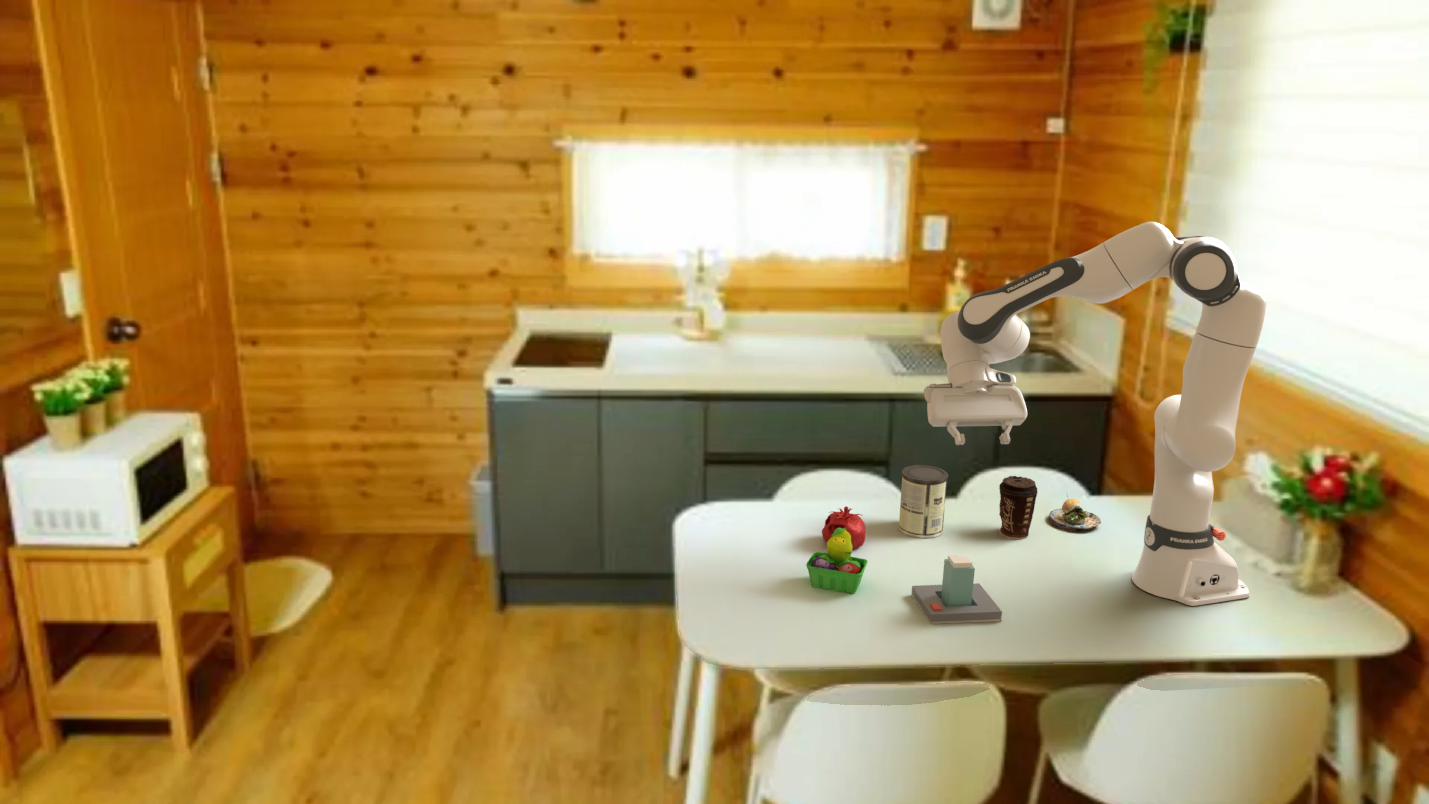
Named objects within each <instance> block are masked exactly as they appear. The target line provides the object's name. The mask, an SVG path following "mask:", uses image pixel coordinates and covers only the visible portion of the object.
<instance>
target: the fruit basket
mask: <svg viewBox="0 0 1429 804" xmlns="http://www.w3.org/2000/svg"><path fill="white" fill-rule="evenodd" d="M826 549H827V552H821V551H816V552H815V551H814V552H813V554H812V555H811V557H810V558H809V559H808V560H807V562H806V564H805V566H806V569H807V571H808V575H809V579H810V583H811V585H810V586H811V587H812V588H818V589H824V590H832V591H835V592H839V593H840V592H841V593H848V594H853V595H854V594H856V592H857V590H858V588H859V586H860V584H861V581H862V578H863V576H864V572H865V569H866V567H867V566H868V560H867V559H866V558H860V557H855V556H852V554H853V550H852V543H851V535H850V534H849V533H848V532H847V531H846V528H837V529H836V530H835V531H834V533H833V534H832V537H831V538H830V539H829V540H828V542H827V543H826Z"/></svg>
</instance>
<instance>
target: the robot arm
mask: <svg viewBox="0 0 1429 804" xmlns="http://www.w3.org/2000/svg"><path fill="white" fill-rule="evenodd" d="M1159 278H1168V279H1171V280H1172V281H1173V282H1174V284H1175V285H1176V287H1178V288H1179V290H1181V291H1182V292H1183V293H1185V294H1186V295H1188V296H1189V297H1191V298H1193V299H1195V300H1197V301H1198V302H1200V303H1201V305H1202V307H1201V308H1202V309H1201V315H1200V319H1199V321H1198V324H1197V326H1196V328H1195V333H1194V335H1193V338H1192V341H1191V344H1190V347H1189V350H1188V351H1187V352H1188V353H1187V356H1186V358H1185V361H1184V364H1183V366H1182V367H1183V368H1182V386H1181V394H1174V395H1171V396H1168V397H1166V398H1164V399H1163V400H1162V401H1160V403H1159V404H1158V406H1157V407H1156V409H1155V412H1154V415H1153V416H1154V428H1155V429H1154V430H1155V431H1154V483H1153V490H1152V491H1153V492H1152V499H1151V504H1150V505H1151V506H1150V511H1149V514H1148V515H1147V517H1146V522H1145V528H1144V536H1143V548H1142V551H1141V554H1140V558H1139V560H1138V563H1137V566H1136V567H1135V570H1134V571H1133V573H1132V575H1131V581H1132V583H1134V585H1135V586H1136V587H1138V588H1139V589H1140V590H1142V591H1145V592H1147V593H1148V594H1151V595H1154V596H1156V597H1160V598H1163V599H1168V600H1173V601H1177V602H1179V603H1181V604H1184V605H1187V606H1192V607H1195V606H1203V605H1208V604H1209V605H1210V604H1215V603H1221V602H1222V603H1223V602H1228V601H1229V602H1230V601H1234V600H1241V599H1247V598H1249V597H1250V590H1249V589H1250V588H1249V587H1248V586H1247V585H1246V584H1245V582H1244V581H1242V580H1241V579H1240V577H1239V576H1240V574H1239V573H1240V572H1239V567H1238V564H1237V562H1236V560H1235V559H1234V558H1233V557H1232V556H1231V555H1230V554H1229V553H1227V552H1226V551H1225V550H1224V549H1223V548H1222V547H1221V546H1220V545H1218V544H1217V543H1216V542H1215V541H1214V538H1215V539H1216V540H1218V541H1219V542H1220V541H1221V542H1222V541H1224V540H1225V539H1226V538H1227V533H1226V532H1225V531H1223V530H1222V529H1220V528H1215V526H1213V525H1212V524H1211V523H1210V518H1211V512H1212V505H1213V500H1214V494H1215V486H1214V482H1213V472H1217V471H1219V470H1221V469H1223V468H1225V467H1226V466H1227V465H1229V464H1230V463H1231V461H1232V460H1233V458H1234V457H1235V454H1236V451H1237V450H1236V449H1237V443H1236V430H1237V429H1236V428H1237V425H1238V424H1237V423H1238V417H1239V411H1240V403H1241V398H1242V397H1241V396H1242V392H1243V387H1244V382H1245V380H1246V376H1247V374H1248V372H1249V368H1250V366H1251V363H1252V360H1253V357H1254V354H1255V352H1256V349H1257V346H1258V343H1259V341H1260V337H1261V333H1262V329H1263V325H1264V321H1265V317H1266V310H1267V298H1266V295H1265V294H1264V292H1263V291H1262V290H1260V288H1258V287H1256V286H1255V285H1253V284H1251V283H1249V282H1244V281H1241V280H1240V279H1241V278H1240V275H1239V270H1238V265H1237V262H1236V259H1235V257H1234V255H1233V253H1232V251H1231V250H1230V248H1229V247H1228V246H1227V245H1226V244H1225V243H1224V242H1223V241H1221V240H1219V239H1217V238H1214V237H1210V236H1205V235H1196V236H1195V235H1194V236H1183V237H1182V236H1180V237H1179V236H1178V237H1177V236H1176V237H1174V235H1173V234H1172V232H1171V231H1170V230H1169V228H1167V227H1165V225H1163V224H1161V223H1159V222H1157V221H1146V222H1142V223H1140V224H1139V225H1135V226H1133V227H1131V228H1128V229H1126V230H1124V231H1122V232H1120V233H1118V234H1115V236H1112V237H1110V238H1108V239H1107V240H1105V241H1103V242H1102V243H1099V244H1098V245H1097V246H1095V247H1093V248H1091V249H1089V250H1087V251H1084V252H1082V253H1080V254H1077V255H1075V256H1069V257H1065V258H1061V259H1057V260H1056V261H1055V260H1054V261H1052V262H1051V263H1048V264H1046V265H1044V266H1041V267H1040V268H1037V269H1035V270H1033V271H1031V272H1029V273H1027V274H1025V275H1023V276H1021V277H1019V278H1017V279H1014V280H1013V281H1011V282H1008V283H1007V284H1004V285H1002V286H1000V287H997V288H994V289H991V290H985V291H982V292H977V293H976V294H973V295H971V296H970V297H969V298H968V299H967V300H966V301H965V302H964V303H963V305H962V306H961V307H960V309H959V310H958V311H955V312H952V313H950V314H949V315H947V316H946V317H945V319H944V320H943V322H942V324H941V327H940V345H941V346H940V347H941V352H942V357H943V358H942V359H943V360H944V362H945V364H946V376H947V382H948V383H930V384H929V385H927V386H925V388H924V389H923V396H924V399H925V401H926V402H927V404H926V405H927V406H926V409H927V411H926V413H927V420H928V423H929V424H930V425H931V426H932V427H934V428H935V427H936V428H937V427H939V428H940V427H946V428H947V429H946V430H947V432H948V433H949V434H950V435H951V437H952V438H954V443H955V445H956V446H960V445H961V446H964V444H965V443H966V438H965V433H960V431H959V430H958V428H957V427H992V426H993V427H995V426H998V427H1001V428H1002V430H1004V432H1002V433H1001V435H999V437H998V438H999V441H1000V442H999V443H1000V444H1001V445H1009V444H1010V443H1011V437H1010V432H1011V430H1012V429H1013V426H1021V425H1022V424H1023V423H1024V422H1025V421H1026V420H1027V417H1028V409H1027V405H1026V401H1025V398H1024V396H1023V394H1022V392H1021V389H1019V388H1018V387H1017V386H1015V385H1016V383H1017V378H1016V376H1015V375H1014V374H1012V373H1009V372H1004V371H1000V370H998V369H995V368H991V367H990V365H997V364H1002V363H1006V362H1010V361H1012V360H1016V359H1018V357H1021V355H1023V354H1024V352H1025V351H1026V350H1027V348H1028V346H1029V344H1030V341H1031V331H1030V328H1029V327H1028V325H1027V324H1026V323H1025V322H1024V321H1023V320H1022V319H1021V318H1020V317H1019V316H1018V314H1020V313H1022V312H1024V311H1026V310H1028V309H1030V308H1032V307H1035V306H1036V305H1038V304H1041V303H1042V302H1045V301H1048V300H1049V299H1052V298H1057V297H1067V298H1073V299H1074V298H1075V299H1079V300H1082V301H1085V302H1087V303H1091V304H1098V305H1099V304H1100V305H1101V304H1102V305H1103V304H1106V303H1109V302H1112V301H1115V300H1118V299H1120V298H1122V297H1123V296H1125V295H1127V294H1129V293H1131V292H1132V291H1134V290H1135V289H1138V288H1139V287H1140V286H1142V285H1144V284H1145V283H1147V282H1150V281H1152V280H1154V279H1159Z"/></svg>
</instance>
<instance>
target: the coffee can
mask: <svg viewBox="0 0 1429 804" xmlns="http://www.w3.org/2000/svg"><path fill="white" fill-rule="evenodd" d="M901 476H902V478H901V488H900V489H901V490H900V492H901V493H900V503H899V504H900V505H899V518H898V519H899V523H898V530H899V531H900V532H901V533H902V534H904V535H907V536H909V537H912V538H919V539H932V538H937V537H939V536H941V535H942V534H943V532H944V521H945V507H946V496H947V485H948V478H949V473H948V472H947V471H946V470H945V469H942V468H940V467H937V466H933V465H927V464H925V465H924V464H915V465H914V464H913V465H909V466H906V467H904V468H903V469H902V470H901Z"/></svg>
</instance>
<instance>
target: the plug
mask: <svg viewBox="0 0 1429 804" xmlns="http://www.w3.org/2000/svg"><path fill="white" fill-rule="evenodd" d="M943 560H944V561H943V571H942V572H943V573H942V583H941V585H942V592H941V601H942V603H943V604H944V605H945V607H954V606H971V602H972V592H973V584H974V581H975V570H976V568H975V567H974V565H973V561H971V559H970V558H969V557H968V555H967V554H951V555H950V554H949V555H947V558H944V559H943Z"/></svg>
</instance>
